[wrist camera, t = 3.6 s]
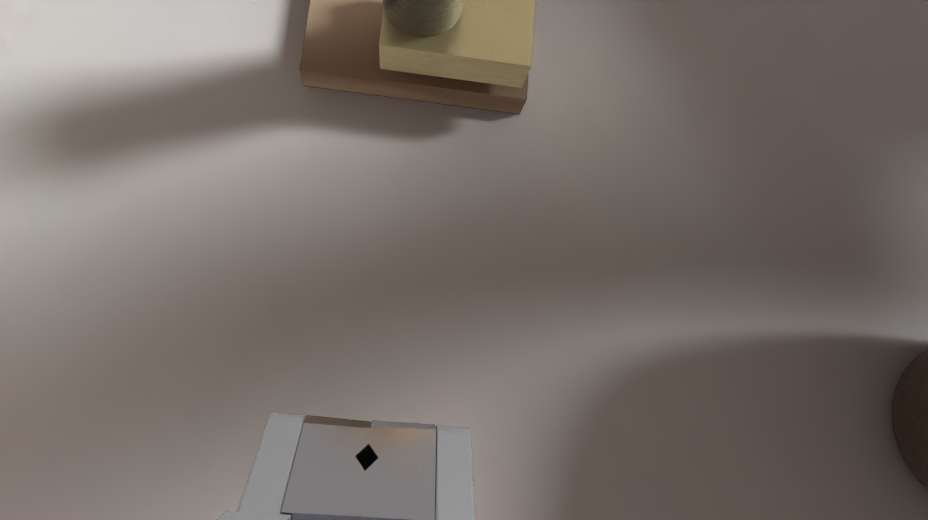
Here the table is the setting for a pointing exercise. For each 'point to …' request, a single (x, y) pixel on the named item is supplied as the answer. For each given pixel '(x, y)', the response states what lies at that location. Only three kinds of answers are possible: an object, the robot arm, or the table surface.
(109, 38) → the table surface
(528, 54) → the sliding leg
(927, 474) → the plant pot
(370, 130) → the table surface
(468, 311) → the table surface
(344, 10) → the wooden peg board
